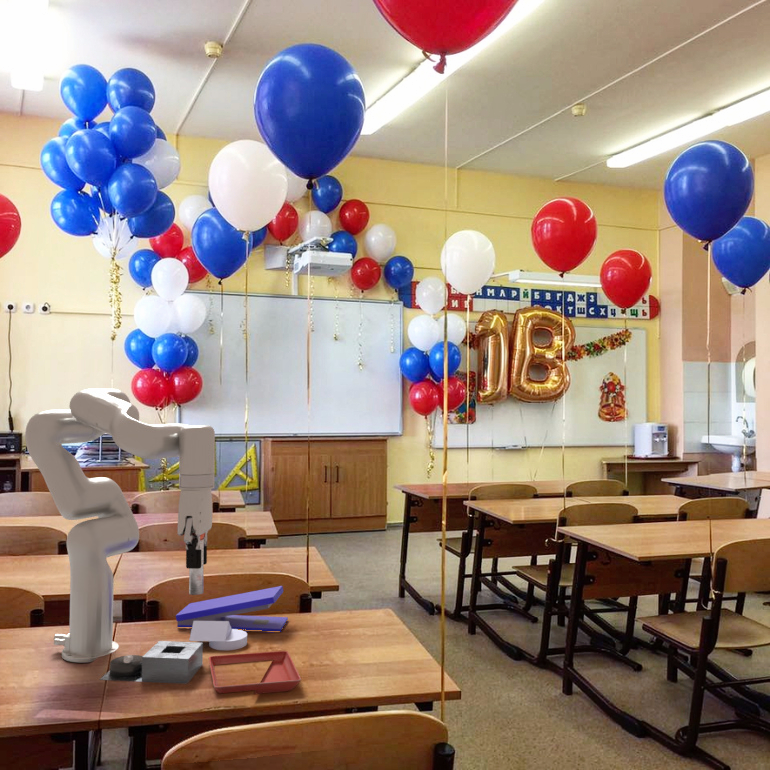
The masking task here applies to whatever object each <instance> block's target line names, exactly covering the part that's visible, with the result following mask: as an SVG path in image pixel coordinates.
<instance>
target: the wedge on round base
mask: <svg viewBox="0 0 770 770" xmlns="http://www.w3.org/2000/svg"><path fill="white" fill-rule="evenodd" d="M189 635H190V636H189V641H188V642H208V643H209V644H208V645H209V647H210V648H211V649H214V650H217V651H234V650H235V651H236V650H239V649H242V648H244V647H246V646H247V645H248V633H247V631H243V630H238V629H232V628H231V626H230V623H229V621H194V622H193V626H192V629H190V634H189Z"/></svg>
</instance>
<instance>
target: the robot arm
mask: <svg viewBox="0 0 770 770" xmlns="http://www.w3.org/2000/svg"><path fill="white" fill-rule="evenodd" d="M68 406H69V407H68V408H67V409H64V408H62V409H58V408H57V409H48V410H42V411H39V412H38V413H35V414H34V415H32V417H31V418H29V420H28V422H27V425H26V428H25V435H24V439H25V446H26V449H27V452H28V453H29V456H30V457H31V459H32V461H33V463H34V464H35V466H36V467H37V469H38V470H39V472H40V473H41V475H42V477H43V479H44V482H45V484H46V487H47V489H48V490H49V493H50V496H51V498H52V500H53V502H54V505H55V506H56V509H57V510H58V512H59V514H60V515H61V517H62V518H64V519H65V520H68V521H77V520H78V521H79V520H84V519H86V520H84V521H81V522H78V523H77V524H75V525H73V527H71V529H70V530H69V532H68V534H67V536H66V549H67V555H68V561H69V569H70V570H69V571H70V572H69V573H70V576H69V577H70V585H69V586H70V593H69V630H68V631H69V633H67V634H64V633H55V635H54V636H53V645H55V646H63V647H64V648H63V649H62V651H61V657H62V658H61V659H64V660H65V661H67V662H71V663H79V664H80V663H81V664H82V663H93V662H94V661H95V660H96V659H98V658H99V657H104V656H107V655H111V654H112V653H114V652H116V651H117V650H118V649H119V648H120V645H119V644H118V642H116V641H113V635H114V634H113V630H114V629H113V627H114V626H113V625H114V624H113V623H114V587H115V586H114V580H115V579H114V574H113V573H114V572H113V570H112V569H111V567H110V564H109V563H108V560H107V559H108V558H110V557H113V556H118V555H122V554H125V553H128V552H130V551H132V550H133V549H134V548H135V547H136V546H137V545H138V543H139V540H140V529H139V525H138V522H137V520H136V517H135V516H134V513H133V511H132V509H131V508H130V505H129V503H128V501H127V499H126V497H125V494H124V493H123V491H122V488H121V487H120V485H119V484H118V483H117V482H116V481H115V480H113V479H111V478H110V477H104V476H98V477H88V476H86V475H85V473H84V471H83V469H82V467H81V464H80V463H79V461H78V460H77V458H76V457H75V456H74V455H73V454H72V453H71V452H70V451H68V450H67V449H66V448H65V447H63V445H65V444H81V443H89V442H92V441H95V440H97V439H99V438H100V437H101V436H103V435H105V434H107V435H109V436H112V437H111V438H112V440H113V442H114V443H115V445H116V446H117V447H118V448H120V449H121V450H122V451H124V452H126V453H128V454H131V455H133V456H136V457H137V458H138V457H139V458H141V459H145V460H159V459H167V458H169V459H170V458H178V463H179V464H178V476H179V477H178V489H179V490H180V494H179V500H178V509H177V510H178V512H177V529H176V530H177V535H178V536H179V537H182V536H183V542H184V543H185V553H186V554H185V567H186V569H189V568H191V569H199V568H201V550H199V549H200V535H202V534H203V533H204V566H205V565H207V564H208V563H207V562H208V533H209V531H210V530H211V529H212V527H213V526H212V525H213V496H212V495H213V494H212V493H213V492H212V490H214V489H215V468H216V467H215V458H216V457H215V455H216V452H215V446H216V444H215V443H216V441H215V440H216V436H215V430H214V429H215V428H214V427H212V426H211V425H206V424H205V425H203V424H201V425H199V424H194V425H193V424H192V425H190V424H185V423H157V424H149V423H145V422H142V421H140V412H139V409H138V408H137V407H136V406H135V405H134V404H133V403H131V399H130V398H129V396H128V395H127V394H126V393H125V392H124V391H122V390H119V389H117V388H86V389H81V390H79V391H78V392H76V393H75V394H74V395H73V396H72V397H71V399H70V401H69V405H68ZM94 517H96V518H94ZM89 518H91V519H89ZM192 533H195V534H196V535H192ZM193 538H196V541H195V539H193Z"/></svg>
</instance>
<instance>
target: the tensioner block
mask: <svg viewBox="0 0 770 770" xmlns="http://www.w3.org/2000/svg"><path fill="white" fill-rule="evenodd" d="M203 649H204V643H203V642H201V641H171V640H158V641H157V642H156V643H155V644H154V645H152V647H150V649H149V650H148V651H147V652H146V653H144V654H143V655H139V654H128V655H127V654H126V655H122V656H118V657H115V658H113V659H112V660H110V662H109V670H108V671H107V672H106V673H104V675H103V676H101V678H99V679H98V680H99V681H118V682H140V683H141V682H142V683H160V684H161V683H163V684H181V685H182V684H183V685H187V684H188V683H189V682H190V681H191V680H192V678H193V677H194V676H195V675H196V674H197V673H198V671H199V670H200V669H201V668H202V666H203V665H204V663H203V658H204V657H203V653H204V652H203V651H204V650H203Z"/></svg>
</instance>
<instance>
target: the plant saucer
mask: <svg viewBox="0 0 770 770" xmlns="http://www.w3.org/2000/svg"><path fill="white" fill-rule="evenodd" d="M271 660H272V661H271ZM260 661H271V663H270V665H269V666H268V668H267V670H266V671H265V673H264V675H263V677H262V678H261V680H260V682H253V683H242V684H241V683H240V684H231V685H219V684H218V681H217V676H216V675H217V674H216V671H215V670H216V669H215V666H216V665H226V664H227V665H228V664H238V663H249V662H251V663H252V662H260ZM208 662H209V667H210V668H209V669H210V674H211V678H212V683H213V688H214V690H215V691H216V692H217V693H218V694H228V693H239V692H249V691H254V693H253V695H259V694H260V695H261V694H271V693H280V692H290V691H292V690H293V689H294V688H296V687H297V685H298V684H300V682H301V680H302V678H301V676H300V674H299V671H298V669H297V668H296V664H295V663H294V661H293V659H292V656H291V655H290V653H289V651H287V650H277V651H264V652H262V651H261V652H250V653H249V652H247V653H238V654H237V653H234V654H233V653H232V654H222V655H221V654H220V655H211V656H209V657H208Z"/></svg>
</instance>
